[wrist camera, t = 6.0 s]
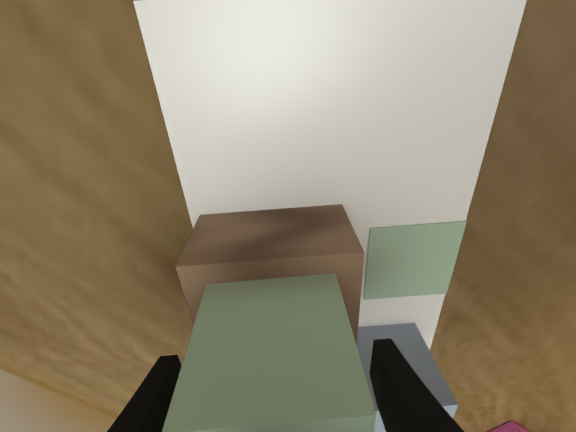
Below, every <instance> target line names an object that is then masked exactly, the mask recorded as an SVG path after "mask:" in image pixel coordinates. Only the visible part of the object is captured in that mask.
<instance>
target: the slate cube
mask: <svg viewBox="0 0 576 432" xmlns="http://www.w3.org/2000/svg"><path fill="white" fill-rule="evenodd" d="M388 338H390V339H392V340H393V341H394V343H395V344H396V346H397V347H398V349H399V350H400V352H401V353H402V354H403V356H404V357H405V359H406V360H407V361H408V363H409V364H410V366H411V367H412V368H413V370H414V371H415V372H416V374H417V375H418V376H419V378H420V379H421V380H422V381H423V383H424V384H425V385H426V387H427V388H428V389H429V390H430V392H431V393H432V394H433V395H434V397H435V398H436V399H437V400H438V402H439V403H440V404H441V405H442V406H443V408H444V409H445V410H446V411H447V412H448V414H449V415H450V416H451V417H452V418H453V417H454V414H455V412H456V409H457V407H458V403H457V401H456V399H455V397H454V395H453V394H452V392H451V390H450V388H449V386H448V384H447V382H446V380H445V379H444V377H443V375H442V373H441V371H440V369H439V367H438V365H437V363H436V362H435V360H434V358H433V356H432V354H431V352H430V350H429V348H428V347H427V345H426V343H425V341H424V339H423V337H422V335H421V333H420V332H419V330H418V328H417V326H416V324H415V323H405V324H392V325H379V326H366V327H358V335H357V349H358V353H359V356H360V360H361V363H362V367H363V370H364V374H365V377H366V381H367V384H368V388H369V391H370V395H371V398H372V402H373V405H374V409H375V412H376V421H375V428H374V432H386V430H385V427H384V425H383V422H382V419H381V416H380V413H379V410H378V407H377V403H376V399H375V395H374V391H373V387H372V383H371V379H370V374H369V372H370V364H371V356H372V349H373V341H374V340H375V339H388Z"/></svg>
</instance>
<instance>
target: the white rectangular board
mask: <svg viewBox="0 0 576 432" xmlns="http://www.w3.org/2000/svg"><path fill="white" fill-rule="evenodd" d="M526 1H527V0H142V1H133V2H134V5H135V9H136V13H137V17H138V21H139V24H140V28H141V32H142V36H143V40H144V44H145V47H146V51H147V55H148V59H149V63H150V66H151V70H152V74H153V78H154V82H155V86H156V89H157V93H158V97H159V101H160V105H161V108H162V112H163V116H164V120H165V124H166V128H167V131H168V135H169V139H170V143H171V147H172V150H173V154H174V158H175V162H176V166H177V170H178V173H179V177H180V181H181V185H182V189H183V192H184V196H185V200H186V204H187V208H188V212H189V215H190V219H191V223H192V227H193V228H194V226H195V224H196V222H197V220H198V218H199V215H203V214H216V213H230V212H243V211H257V210H270V209H283V208H297V207H310V206H323V205H337V204H342V205H343V207H344V210H345V212H346V214H347V216H348V218H349V220H350V222H351V225H352V227H353V229H354V231H355V233H356V235H357V238H358V240H359V242H360V244H361V246H362V248H363V250H364V263H363V275H362V287H361V299H360V311H359V323H358V327H366V326H379V325H392V324H405V323H415V324H416V326H417V328H418V330H419V332H420V333H421V335H422V337H423V339H424V341H425V343H426V345H427V347H428V348H429V350H430V348H431V344H432V340H433V337H434V333H435V329H436V326H437V322H438V319H439V315H440V311H441V308H442V304H443V301H444V297H445V293H447V291H448V287H449V283H450V280H451V276H452V273H453V269H454V265H455V262H456V258H457V255H458V251H459V248H460V244H461V240H462V237H463V233H464V230H465V226H466V223H467V221H466V218H467V214H468V210H469V207H470V203H471V199H472V196H473V192H474V189H475V185H476V181H477V178H478V174H479V171H480V167H481V163H482V160H483V156H484V153H485V149H486V145H487V142H488V138H489V134H490V131H491V127H492V124H493V120H494V116H495V113H496V109H497V106H498V102H499V98H500V95H501V91H502V88H503V84H504V80H505V77H506V73H507V69H508V66H509V62H510V59H511V55H512V51H513V48H514V44H515V41H516V37H517V33H518V30H519V26H520V23H521V19H522V15H523V12H524V8H525V4H526Z"/></svg>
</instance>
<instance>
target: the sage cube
mask: <svg viewBox="0 0 576 432" xmlns="http://www.w3.org/2000/svg"><path fill="white" fill-rule="evenodd" d="M375 421H376V412H375V409H374V405H373V402H372V398H371V395H370V391H369V388H368V384H367V381H366V377H365V374H364V370H363V367H362V363H361V360H360V356H359V353H358V349H357V346H356V342H355V339H354V335H353V332H352V328H351V325H350V321H349V318H348V314H347V311H346V307H345V304H344V300H343V297H342V293H341V290H340V286H339V283H338V279H337V276H336V273H331V274H320V275H308V276H296V277H285V278H273V279H262V280H250V281H239V282H227V283H216V284H206V286H205V290H204V293H203V296H202V300H201V303H200V306H199V310H198V313H197V316H196V320H195V323H194V326H193V330H192V333H191V336H190V340H189V343H188V346H187V350H186V353H185V356H184V360H183V363H182V366H181V370H180V373H179V376H178V380H177V383H176V386H175V390H174V393H173V396H172V400H171V403H170V406H169V410H168V413H167V416H166V420H165V423H164V426H163V430H162V432H374V428H375Z"/></svg>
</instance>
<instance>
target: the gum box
mask: <svg viewBox="0 0 576 432" xmlns="http://www.w3.org/2000/svg"><path fill="white" fill-rule="evenodd" d="M488 432H530V431H528V430H526V429H525V428H523V427H521V426H520V425H518V424H516V423H515V422H513V421H510V422H507V423H505V424H503V425H501V426H499V427H496V428H494V429H492V430H490V431H488Z"/></svg>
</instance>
